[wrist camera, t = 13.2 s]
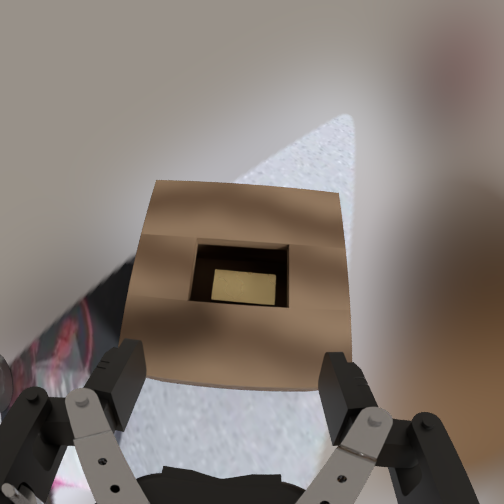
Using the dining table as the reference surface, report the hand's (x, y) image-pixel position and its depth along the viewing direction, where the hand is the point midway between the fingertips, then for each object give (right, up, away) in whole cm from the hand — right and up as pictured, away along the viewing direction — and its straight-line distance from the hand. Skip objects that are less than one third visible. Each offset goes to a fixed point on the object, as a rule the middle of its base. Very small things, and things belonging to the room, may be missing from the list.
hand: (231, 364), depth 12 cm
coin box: (-1, -3, +22) cm, 22 cm away
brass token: (0, -2, +21) cm, 21 cm away
